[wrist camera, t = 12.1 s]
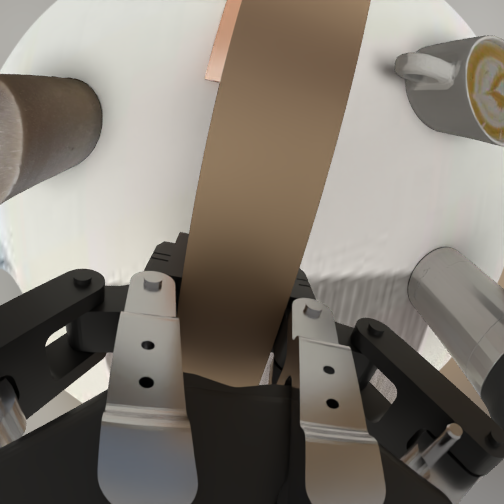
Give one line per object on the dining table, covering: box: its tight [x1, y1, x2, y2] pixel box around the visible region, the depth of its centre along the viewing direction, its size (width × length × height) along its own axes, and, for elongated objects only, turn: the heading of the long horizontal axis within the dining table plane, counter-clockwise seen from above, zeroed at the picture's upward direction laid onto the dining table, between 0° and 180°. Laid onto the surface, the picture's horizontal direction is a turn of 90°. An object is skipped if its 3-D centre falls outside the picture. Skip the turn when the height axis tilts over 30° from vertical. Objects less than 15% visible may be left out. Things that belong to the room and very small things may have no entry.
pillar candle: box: [0, 74, 102, 205], centre depth 20 cm, size 10×10×15 cm
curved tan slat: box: [177, 0, 371, 387], centre depth 12 cm, size 22×3×6 cm, turn 167°
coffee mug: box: [395, 36, 504, 146], centre depth 22 cm, size 13×10×10 cm
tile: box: [205, 0, 242, 82], centre depth 25 cm, size 8×2×10 cm
